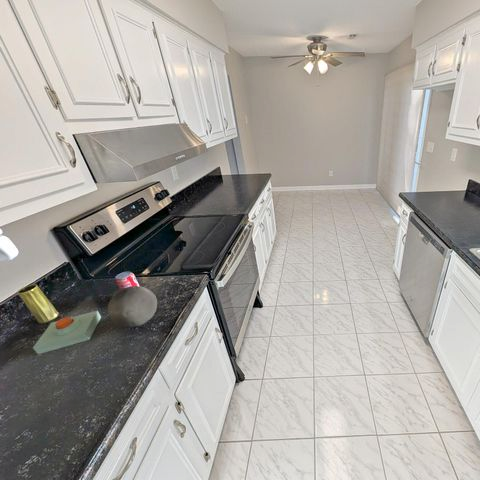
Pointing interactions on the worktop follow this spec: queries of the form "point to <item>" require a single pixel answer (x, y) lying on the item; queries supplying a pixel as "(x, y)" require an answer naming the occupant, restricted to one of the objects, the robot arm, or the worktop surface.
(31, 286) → the vase
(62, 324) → the button
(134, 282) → the soda can
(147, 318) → the cantaloupe
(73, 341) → the green push-button pad
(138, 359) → the worktop surface
